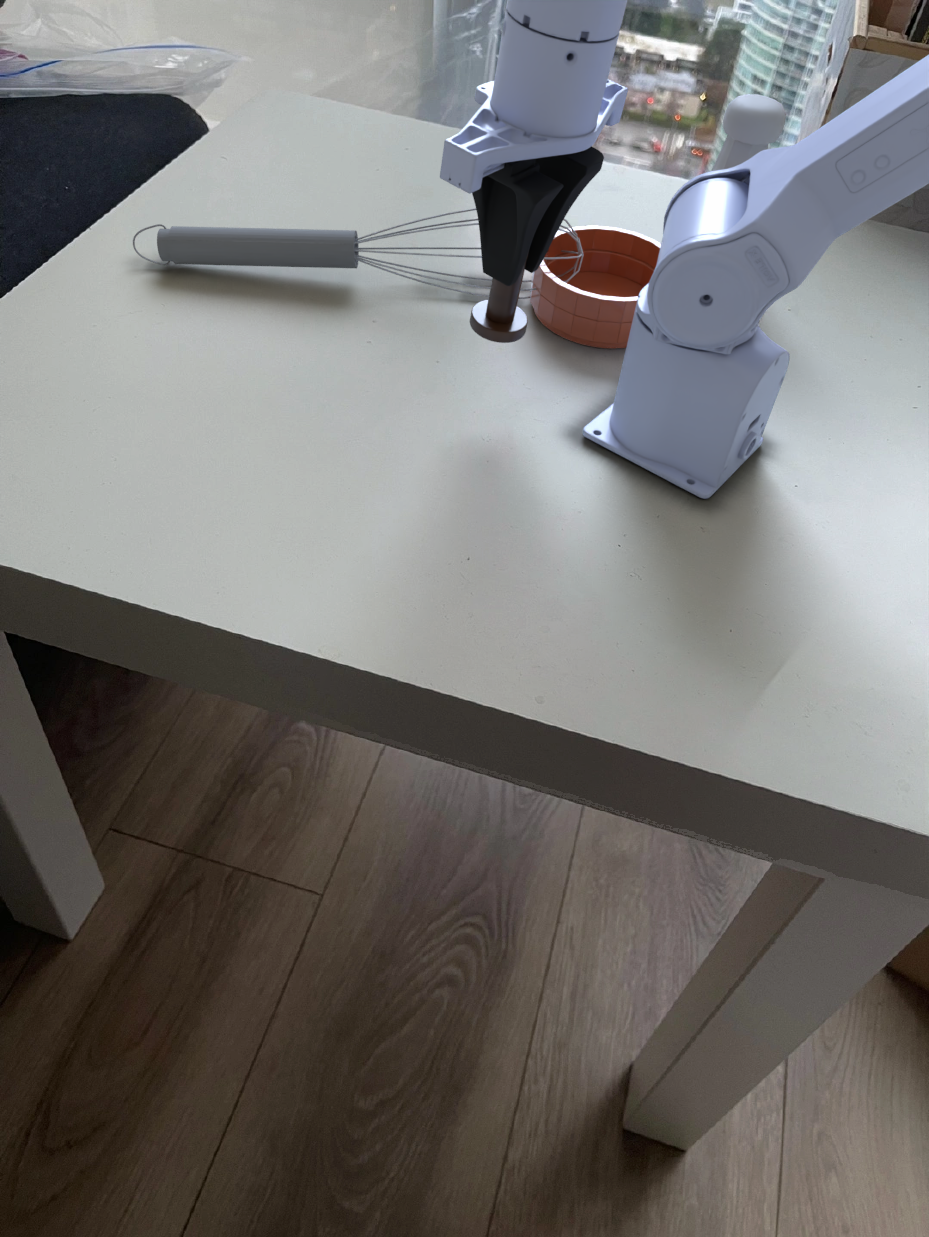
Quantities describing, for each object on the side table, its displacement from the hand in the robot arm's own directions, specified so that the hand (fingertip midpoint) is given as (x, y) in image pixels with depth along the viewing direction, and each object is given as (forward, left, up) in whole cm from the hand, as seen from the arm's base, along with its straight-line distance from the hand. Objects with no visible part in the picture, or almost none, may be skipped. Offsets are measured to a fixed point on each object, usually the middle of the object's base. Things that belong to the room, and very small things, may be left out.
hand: (510, 270), depth 57 cm
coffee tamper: (0, 0, -4) cm, 4 cm away
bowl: (+1, -15, -10) cm, 18 cm away
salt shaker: (-2, -26, -9) cm, 28 cm away
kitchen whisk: (+16, -5, -10) cm, 19 cm away
